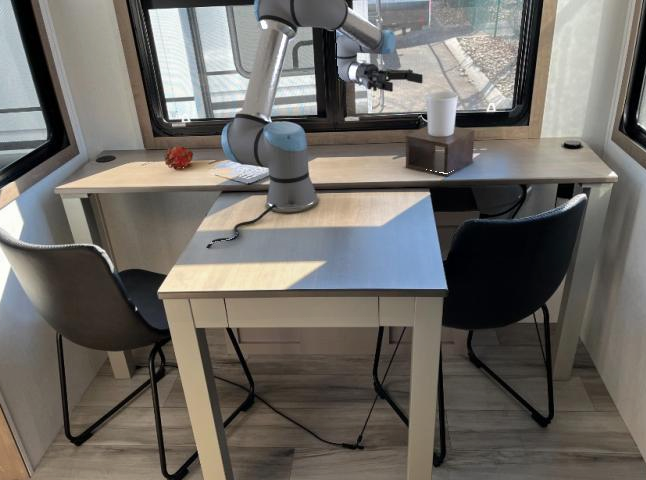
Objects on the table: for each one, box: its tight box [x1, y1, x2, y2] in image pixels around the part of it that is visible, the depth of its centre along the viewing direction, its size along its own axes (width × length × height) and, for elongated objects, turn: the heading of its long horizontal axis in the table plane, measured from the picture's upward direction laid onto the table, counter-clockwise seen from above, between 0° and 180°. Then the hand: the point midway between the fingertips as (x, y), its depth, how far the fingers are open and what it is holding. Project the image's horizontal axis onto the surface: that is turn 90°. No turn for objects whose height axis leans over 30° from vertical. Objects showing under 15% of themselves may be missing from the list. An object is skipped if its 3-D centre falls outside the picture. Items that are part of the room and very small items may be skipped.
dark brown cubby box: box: [405, 125, 476, 178], centre depth 195 cm, size 16×16×11 cm
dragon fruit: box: [164, 144, 194, 170], centre depth 209 cm, size 8×8×12 cm
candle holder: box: [425, 90, 459, 137], centre depth 189 cm, size 10×10×12 cm
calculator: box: [209, 160, 270, 181], centre depth 202 cm, size 13×20×2 cm, turn 51°
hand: (407, 83), depth 194 cm, fingers open, 13 cm apart
